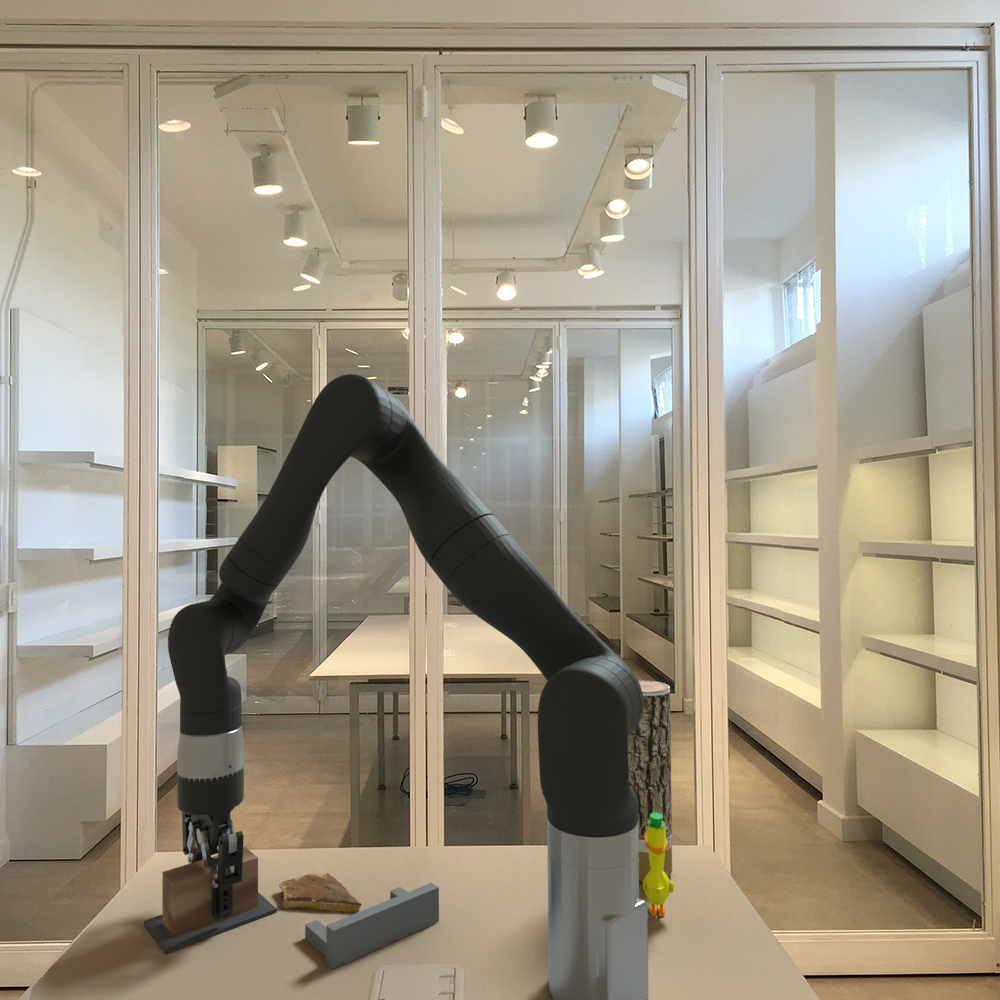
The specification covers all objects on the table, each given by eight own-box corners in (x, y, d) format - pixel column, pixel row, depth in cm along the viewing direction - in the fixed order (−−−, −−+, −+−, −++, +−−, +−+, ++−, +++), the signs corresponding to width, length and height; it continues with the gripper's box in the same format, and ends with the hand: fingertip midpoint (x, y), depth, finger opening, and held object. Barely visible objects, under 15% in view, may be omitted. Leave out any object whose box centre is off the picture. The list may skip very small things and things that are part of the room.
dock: (439, 921, 89) (438, 887, 89) (333, 968, 80) (333, 930, 80) (403, 897, 95) (403, 865, 95) (301, 939, 86) (300, 903, 86)
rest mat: (276, 912, 92) (276, 908, 92) (165, 953, 83) (165, 949, 83) (250, 888, 98) (250, 884, 98) (143, 924, 89) (143, 921, 89)
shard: (362, 916, 92) (362, 901, 92) (301, 937, 87) (301, 921, 87) (327, 881, 100) (327, 867, 100) (271, 898, 96) (271, 884, 96)
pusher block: (258, 906, 92) (258, 857, 92) (173, 937, 86) (173, 884, 86) (245, 894, 95) (244, 846, 95) (162, 923, 89) (162, 871, 89)
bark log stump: (614, 878, 100) (611, 688, 100) (630, 857, 106) (628, 678, 106) (664, 889, 96) (662, 694, 97) (678, 867, 102) (675, 683, 103)
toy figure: (639, 896, 95) (638, 801, 95) (668, 897, 94) (666, 801, 95) (645, 926, 88) (644, 822, 88) (676, 927, 88) (675, 823, 88)
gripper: (266, 773, 88) (266, 917, 88) (219, 745, 99) (219, 873, 98) (200, 789, 83) (200, 942, 83) (159, 758, 94) (159, 893, 93)
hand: (211, 904), depth 90 cm, fingers open, 6 cm apart
